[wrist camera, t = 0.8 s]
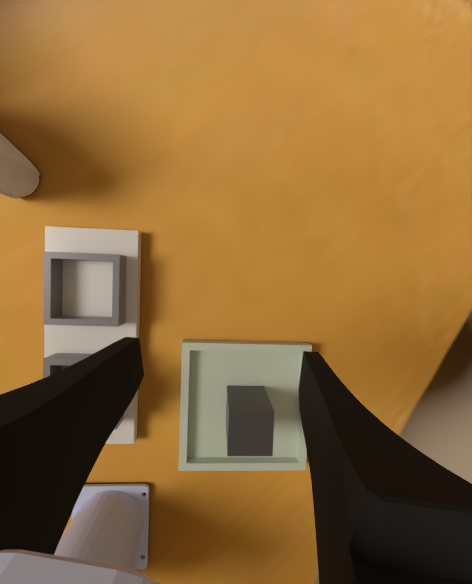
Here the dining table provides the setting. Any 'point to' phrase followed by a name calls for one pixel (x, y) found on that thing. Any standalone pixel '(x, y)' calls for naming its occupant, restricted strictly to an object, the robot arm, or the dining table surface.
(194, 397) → the pale green tray
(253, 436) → the dark grey upright box
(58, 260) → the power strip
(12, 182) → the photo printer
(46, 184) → the dining table surface
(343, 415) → the robot arm
